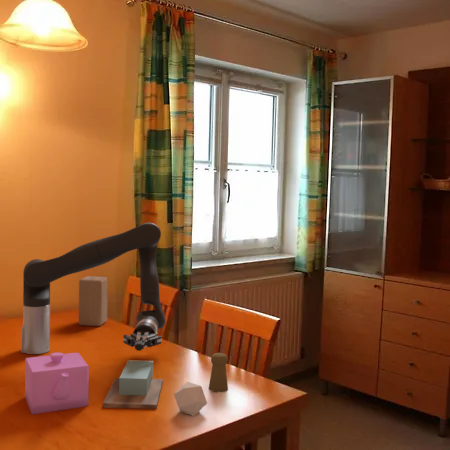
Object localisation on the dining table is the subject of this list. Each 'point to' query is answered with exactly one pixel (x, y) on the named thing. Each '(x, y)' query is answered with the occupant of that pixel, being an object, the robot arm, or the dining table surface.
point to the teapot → (56, 382)
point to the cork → (218, 373)
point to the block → (93, 300)
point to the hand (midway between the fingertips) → (138, 347)
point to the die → (190, 398)
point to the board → (134, 397)
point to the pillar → (136, 378)
